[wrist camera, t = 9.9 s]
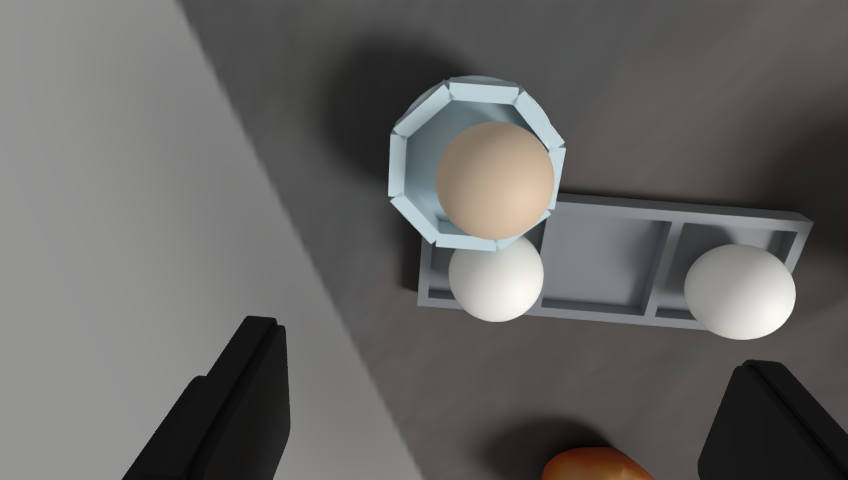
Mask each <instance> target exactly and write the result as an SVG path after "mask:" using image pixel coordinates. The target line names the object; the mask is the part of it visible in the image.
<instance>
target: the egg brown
mask: <svg viewBox="0 0 848 480" xmlns="http://www.w3.org/2000/svg"><path fill="white" fill-rule="evenodd" d="M553 190H554V170H553V165H552V161H551V159H550V157H549V154H548V152H547V150H546V149H545V147H544V146H543V144H542V143H541V142H540V141H539V140H538V139H537V138H536V137H535V136H534V135H533V134H532V133H530V132H529V131H527V130H526V129H524V128H522V127H520V126H517V125H514V124H511V123H507V122H497V121H494V122H485V123H480V124H477V125H474V126H472V127H470V128H468V129H466V130H464V131H463V132H461V133H460V134H459V135H457V136H456V137H455V138H454V139H453V140H452V141H451V142H450V143H449V145H448V146H447V147H446V149H445V150H444V152H443V154H442V156H441V158H440V160H439V163H438V167H437V172H436V192H437V196H438V200H439V203H440V205H441V207H442V209H443V211H444V212H445V214H446V216H447V217H448V218H449V219H450V221H451V222H452V223H453V224H454V225H456V226H457V227H458V228H459V229H461V230H462V231H464V232H466V233H467V234H469V235H472V236H474V237H478V238H481V239H487V240H501V239H507V238H511V237H514V236H517V235H519V234H521V233H523V232H525V231H526V230H528V229H529V228H531V227H532V226H533V225H534V224H535V223H536V222H537V221H538V220H539V219H540V218H541V217H542V216H543V214H544V213H545V211H546V210H547V208H548V206H549V204H550V201H551V198H552V194H553Z"/></svg>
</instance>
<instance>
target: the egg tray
mask: <svg viewBox="0 0 848 480" xmlns="http://www.w3.org/2000/svg"><path fill="white" fill-rule="evenodd" d="M549 211H550V213H551V215H550V216H548V217H547V218H545V219H544V220H543V221H541V222H540V223H538V224H537V225H536V226H534V227H533V228H531V229H530V230H529V231H527V232H526V233H524V234H523V235H522V236H524V237H525V238H526V239H527V240H529V241H530V242H531V243H532V245H533V246H534V247H535V249H536V250H537V252H538V254H539V256H540V258H541V261H542V265H543V272H544V276H543V285H542V289H541V292H540V294H539V296H538V298H537V300H536V301H535V303H534V304H533V305H532V306H531V307H530V308H529V309H528V310H527V311H526V312H525V313H523V315H535V316H546V317H558V318H570V319H582V320H594V321H605V322H617V323H629V324H641V325H652V326H664V327H676V328H688V329H700V330H708V329H706V328H705V327H704V326H703V325H701V324H700V323H699V322H698V321H697V320H696V319H695V318H694V316H693V315H692V313H691V312H690V310H689V308H688V306H687V303H686V300H685V294H684V284H685V279H686V276H687V273H688V271H689V269H690V267H691V266H692V265H693V263H694V262H695V261H696V260H697V259H698V258H699V257H700V256H701V255H703V254H704V253H706V252H707V251H709V250H711V249H714V248H716V247H720V246H723V245H729V244H745V245H751V246H755V247H758V248H761V249H763V250H765V251H768V252H769V253H771V254H772V255H774V256H775V257H777V258H778V259H779V260H780V261H781V262H782V263H783V264H784V265H785V266H786V268H787V269H788V271H789V272H790V274H791V275H792V272H793V270H794V268H795V265H796V263H797V261H798V258H799V256H800V254H801V251H802V249H803V247H804V244H805V242H806V240H807V237H808V235H809V233H810V231H811V228H812V226H813V224H814V222H813V221H811V220H809V219H808V218H806V217H805V216H803V215H802V214H800V213H798V212H790V211H777V210H765V209H752V208H740V207H728V206H715V205H703V204H690V203H678V202H666V201H653V200H641V199H628V198H616V197H604V196H591V195H579V194H566V193H557V198H556V203H555V209H554V210H553V209H549ZM455 250H456V248H447V247H436V241H434V242H433V243H432V244H430V243H429V242H428V241H427V240H426V239H425V238H424V236H423V235H422V246H421V260H420V274H419V288H418V302H417V306H428V307H440V308H452V309H463V308H462V307H461V305H460V304H459V303H458V302H457V300H456V299H455V297H454V295H453V293H452V290H451V287H450V283H449V265H450V261H451V258H452V255H453V253H454V251H455Z"/></svg>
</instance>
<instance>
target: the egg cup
mask: <svg viewBox="0 0 848 480" xmlns="http://www.w3.org/2000/svg"><path fill="white" fill-rule="evenodd" d="M494 121H497V122H507V123H511V124H514V125H517V126H520V127H522V128H524V129H526V130H527V131H529V132H530V133H532V134H533V135H534V136H535V137H536V138H537V139H538V140H539V141H540V142H541V143H542V144H543V146H544V147H545V149H546V150H547V152H548V154H549V157H550V159H551V161H552V165H553V170H554V190H553V194H552V198H551V201H550V204H549V206H548V208H547V210H546V211H545V213H544V214H543V216H542V217H541V218H540V219H539V220H538V221H537V222H536V223H535V224H534V225H533V226H532V227H531V228H533V227H534V226H536V225H537V224H538V223H540V222H541V221H543V220H544V219H545V218H547V217H548V216H550V215H551V213H550V211H549V209H553V210H554V209H555V203H556V198H557V193H558V188H559V182H560V177H561V172H562V167H563V161H564V156H565V151H566V148H565V146H564V145H563V143H565V142H564V141H563V140H562V138H561V137H560V136H559V134H558V133H557V132H556V130H555V129H554V128H553V126H552V125H551V124H550V122H549V119H548V117H547V116H546V114H545V113H544V111H543V110H542V108H541V107H540V106H539V105H538V103H537V102H536V101H535V100H534V99H533V98H532V97H531V96H530V95H529V94H527V93H526V91H525V90H524V89H523V87H522V86H521V85H520V86H518V85H517V84H516V82H508V81H505V80H503V79H499V78H496V77H491V76H484V75H468V76H460V77H450V79H448V80H445V79H444V80H443V81H441V82H440V83H439V84H437V85H435V86H433V87H432V88H430V89H428V90H427V91H426V92H424V93H423V94H422V95H420V96H419V97H418V98H417V99H416V100H415V101H414V102H413V103H412V104H411V106H410V107H409V108H408V110H407V111H406V112H405V114H404V115H403V116H402V117H401V118H400V119H399V120H397V121H396V124H395V126H394V128H393V130H392V132H391V138H390V163H389V189H388V196H392V197H391V200H390V202H391V203H392V204H393V205H394V206H395V207H396V208H397V209H398V210H399V211H400V212H401V213H402V214H403V215H404V216H405V217H406V219H407V220H408V221H409V222H410V223H411V224H412V225H413V226H414V227H415V228H416V229H417V230H418V231H419V232H420V233H421V234H422V235H423V236H424V238H425V239H426V240H427V241H428V242H429V243H430V244H432V243H433V242H434V241H436V247H447V248H459V249H471V250H483V251H495V252H496V246H498V247H499V248H500V249H501V250H502V249H503V248H505V247H506V246H508V245H509V244H510V243H512V242H513V241H515V240H516V239H517V238H519V237H520V236H522V235H523V234H524V233H526V232H527V231H529V230H530V229H531V228H529V229H528V230H526V231H525V232H523V233H521V234H519V235H517V236H514V237H511V238H507V239H501V240H487V239H481V238H478V237H474V236H472V235H469V234H467V233H466V232H464V231H462V230H461V229H459V228H458V227H457V226H456V225H454V224H453V223H452V222H451V221H450V219H449V218H448V217H447V216H446V214H445V212H444V211H443V209H442V207H441V205H440V203H439V200H438V196H437V192H436V172H437V167H438V163H439V160H440V158H441V156H442V154H443V152H444V150H445V149H446V147H447V146H448V145H449V143H450V142H451V141H452V140H453V139H454V138H455V137H456V136H457V135H459V134H460V133H461V132H463V131H464V130H466V129H468V128H470V127H472V126H474V125H477V124H480V123H485V122H494Z"/></svg>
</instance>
